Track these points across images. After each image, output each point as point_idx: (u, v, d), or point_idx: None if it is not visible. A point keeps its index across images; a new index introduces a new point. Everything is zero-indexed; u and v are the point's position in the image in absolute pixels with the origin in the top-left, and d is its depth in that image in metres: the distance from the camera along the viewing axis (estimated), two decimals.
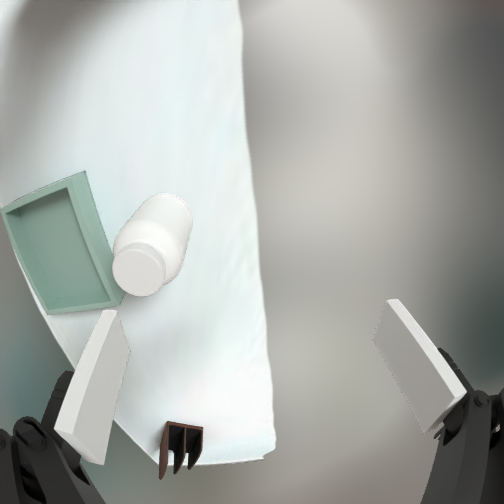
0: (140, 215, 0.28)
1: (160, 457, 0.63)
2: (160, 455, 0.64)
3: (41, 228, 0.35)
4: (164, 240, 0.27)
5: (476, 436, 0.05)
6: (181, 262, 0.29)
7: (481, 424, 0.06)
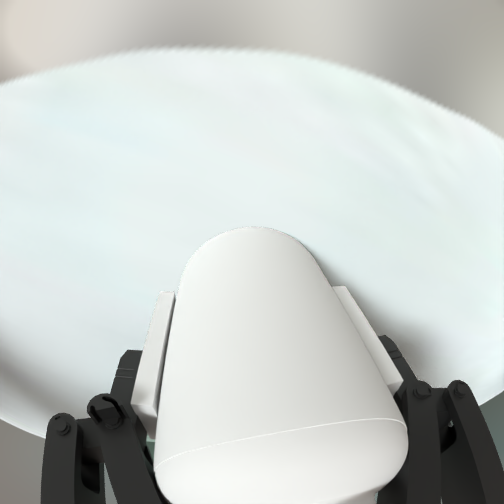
0: None
1: None
2: None
3: None
4: (230, 497, 0.04)
5: (421, 431, 0.06)
6: (371, 433, 0.05)
7: (425, 417, 0.07)
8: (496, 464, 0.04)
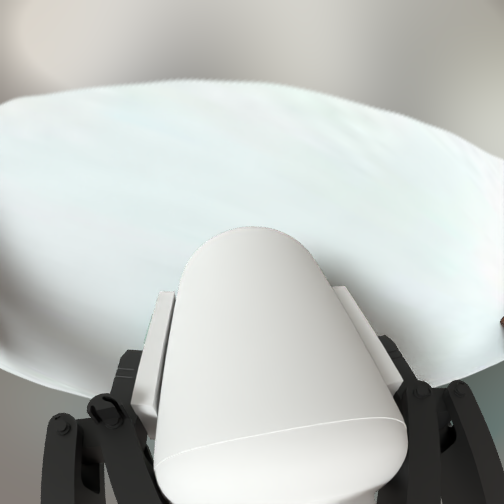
0: None
1: None
2: None
3: None
4: (230, 496, 0.04)
5: (421, 431, 0.06)
6: (371, 432, 0.05)
7: (425, 417, 0.07)
8: (496, 464, 0.04)
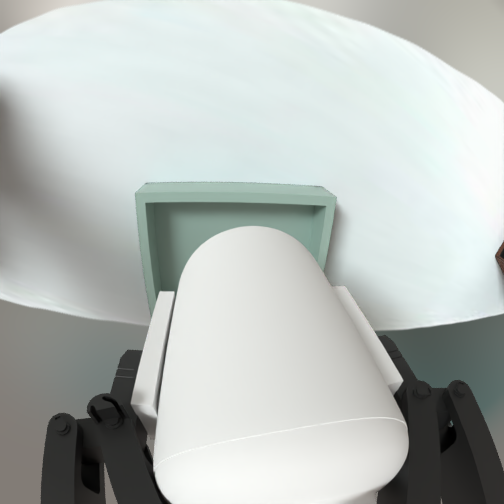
0: None
1: None
2: None
3: None
4: (230, 497, 0.04)
5: (421, 431, 0.06)
6: (372, 432, 0.05)
7: (425, 417, 0.07)
8: (496, 464, 0.04)
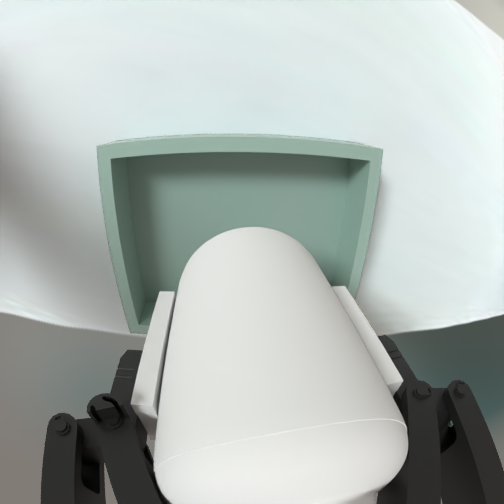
0: None
1: None
2: None
3: None
4: (230, 497, 0.04)
5: (421, 431, 0.06)
6: (371, 433, 0.05)
7: (425, 417, 0.07)
8: (496, 464, 0.04)
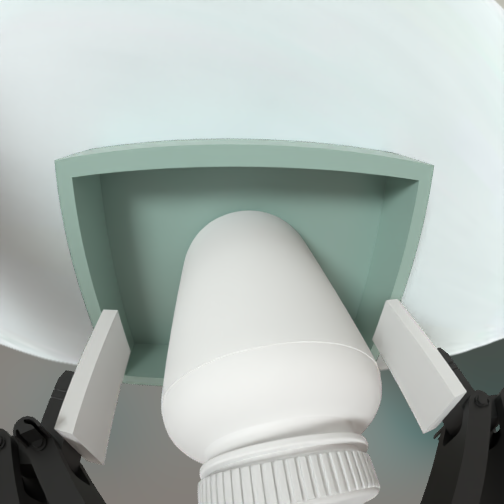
0: None
1: None
2: None
3: None
4: (226, 407, 0.06)
5: (476, 436, 0.05)
6: (341, 355, 0.07)
7: (481, 424, 0.06)
8: None
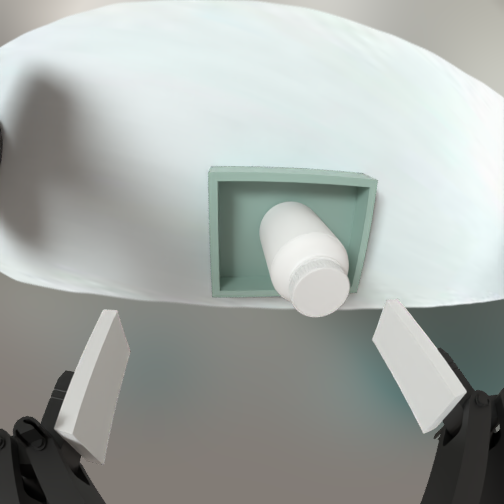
0: (268, 262, 0.28)
1: None
2: None
3: (257, 251, 0.38)
4: (300, 249, 0.24)
5: (476, 436, 0.05)
6: (331, 238, 0.25)
7: (481, 424, 0.06)
8: None
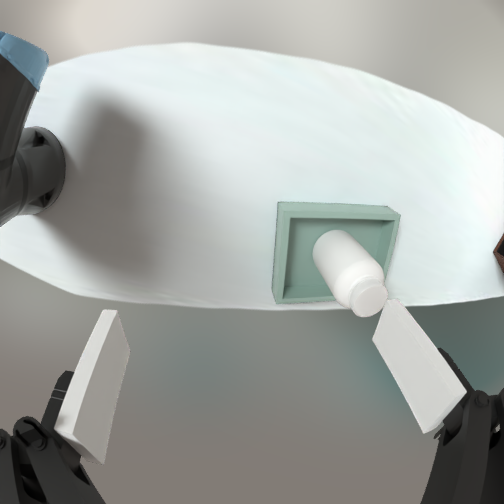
0: (330, 279, 0.38)
1: None
2: None
3: (309, 266, 0.48)
4: (356, 272, 0.35)
5: (476, 436, 0.05)
6: (375, 263, 0.35)
7: (481, 424, 0.06)
8: None
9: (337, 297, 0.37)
